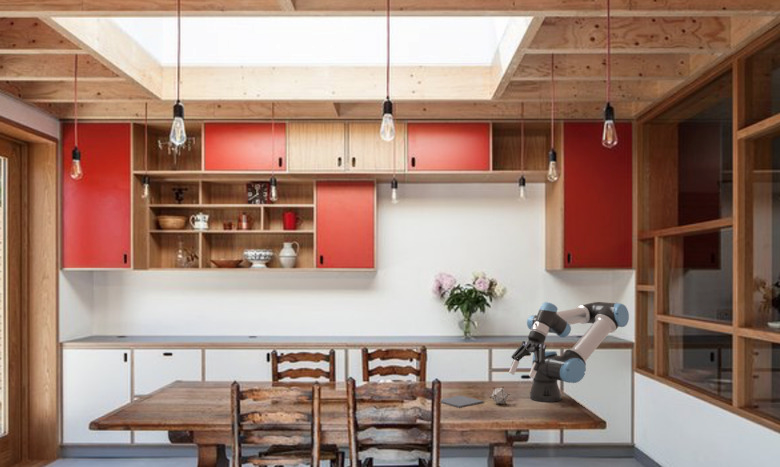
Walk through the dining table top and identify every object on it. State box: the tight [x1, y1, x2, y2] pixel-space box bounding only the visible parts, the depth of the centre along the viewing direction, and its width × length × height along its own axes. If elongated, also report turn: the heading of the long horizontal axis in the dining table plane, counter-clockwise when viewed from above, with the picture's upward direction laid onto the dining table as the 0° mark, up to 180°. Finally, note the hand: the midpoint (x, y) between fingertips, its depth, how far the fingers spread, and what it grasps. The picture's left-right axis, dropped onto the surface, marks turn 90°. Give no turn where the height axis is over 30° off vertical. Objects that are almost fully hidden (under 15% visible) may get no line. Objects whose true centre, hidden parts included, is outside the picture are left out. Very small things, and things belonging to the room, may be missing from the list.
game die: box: [489, 386, 511, 406], centre depth 301 cm, size 9×8×10 cm
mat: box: [440, 395, 484, 409], centre depth 305 cm, size 16×16×1 cm
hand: (521, 375), depth 285 cm, fingers open, 13 cm apart
